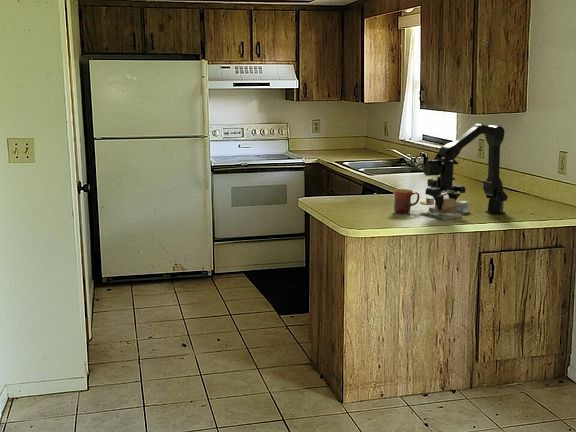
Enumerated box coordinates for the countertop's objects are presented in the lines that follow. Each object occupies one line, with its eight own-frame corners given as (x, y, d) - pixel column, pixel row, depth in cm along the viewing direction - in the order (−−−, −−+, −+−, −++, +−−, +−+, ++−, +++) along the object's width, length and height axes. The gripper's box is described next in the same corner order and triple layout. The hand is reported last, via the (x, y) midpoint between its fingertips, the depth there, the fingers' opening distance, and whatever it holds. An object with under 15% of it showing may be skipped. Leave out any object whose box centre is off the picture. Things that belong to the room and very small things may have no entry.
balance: (453, 207, 332) (454, 188, 330) (462, 209, 327) (464, 190, 325) (416, 211, 321) (417, 191, 319) (425, 214, 316) (426, 194, 314)
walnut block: (454, 212, 310) (455, 199, 309) (443, 213, 307) (444, 200, 306) (444, 210, 315) (445, 196, 314) (434, 211, 312) (435, 198, 311)
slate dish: (444, 213, 319) (445, 210, 319) (462, 217, 310) (462, 214, 309) (426, 215, 314) (426, 212, 313) (443, 220, 304) (443, 217, 304)
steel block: (459, 210, 325) (459, 200, 324) (468, 212, 322) (469, 201, 321) (453, 212, 322) (454, 201, 321) (463, 213, 318) (463, 203, 317)
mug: (394, 214, 314) (395, 192, 312) (390, 210, 323) (391, 188, 321) (420, 214, 315) (421, 192, 313) (416, 211, 323) (417, 189, 321)
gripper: (449, 170, 319) (447, 204, 322) (417, 173, 310) (416, 208, 313) (467, 174, 310) (465, 208, 313) (435, 177, 300) (433, 212, 304)
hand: (444, 209), depth 311 cm, fingers closed on walnut block, 6 cm apart
